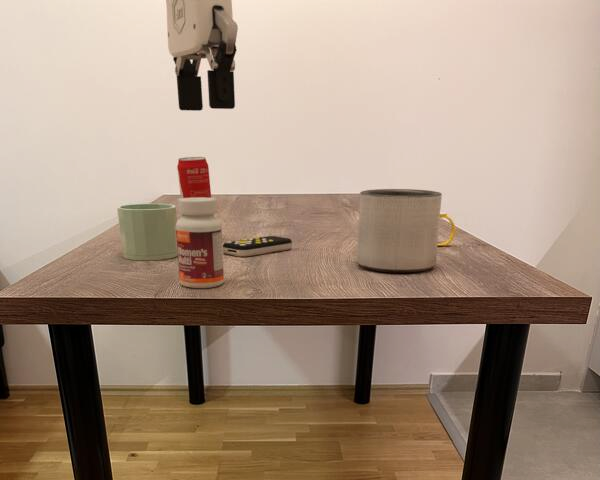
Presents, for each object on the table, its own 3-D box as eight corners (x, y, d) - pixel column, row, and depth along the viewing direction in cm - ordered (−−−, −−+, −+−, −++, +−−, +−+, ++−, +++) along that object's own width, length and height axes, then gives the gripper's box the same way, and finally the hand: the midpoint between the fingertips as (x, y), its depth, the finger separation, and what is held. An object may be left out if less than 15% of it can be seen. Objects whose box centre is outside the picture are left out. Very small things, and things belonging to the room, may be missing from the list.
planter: (411, 257, 109) (416, 188, 104) (450, 271, 98) (459, 194, 93) (343, 262, 105) (346, 189, 100) (377, 277, 94) (382, 197, 89)
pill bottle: (173, 288, 87) (166, 200, 82) (189, 278, 93) (183, 196, 88) (216, 290, 86) (211, 201, 81) (229, 280, 92) (226, 197, 87)
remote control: (295, 249, 116) (295, 237, 115) (242, 258, 108) (242, 245, 107) (272, 245, 120) (272, 234, 119) (219, 253, 112) (218, 241, 111)
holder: (138, 262, 104) (133, 211, 100) (113, 254, 110) (107, 205, 107) (189, 256, 109) (185, 207, 106) (162, 249, 116) (158, 202, 112)
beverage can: (219, 238, 127) (215, 156, 120) (206, 244, 121) (201, 158, 114) (191, 237, 128) (186, 156, 122) (177, 242, 122) (171, 157, 116)
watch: (451, 245, 121) (455, 212, 118) (454, 247, 118) (457, 213, 116) (420, 244, 121) (422, 211, 119) (421, 247, 119) (424, 213, 116)
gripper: (140, -45, 79) (154, 110, 86) (195, -80, 65) (206, 107, 73) (197, -38, 82) (205, 111, 90) (260, -70, 69) (264, 108, 76)
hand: (206, 109), depth 81 cm, fingers open, 9 cm apart
